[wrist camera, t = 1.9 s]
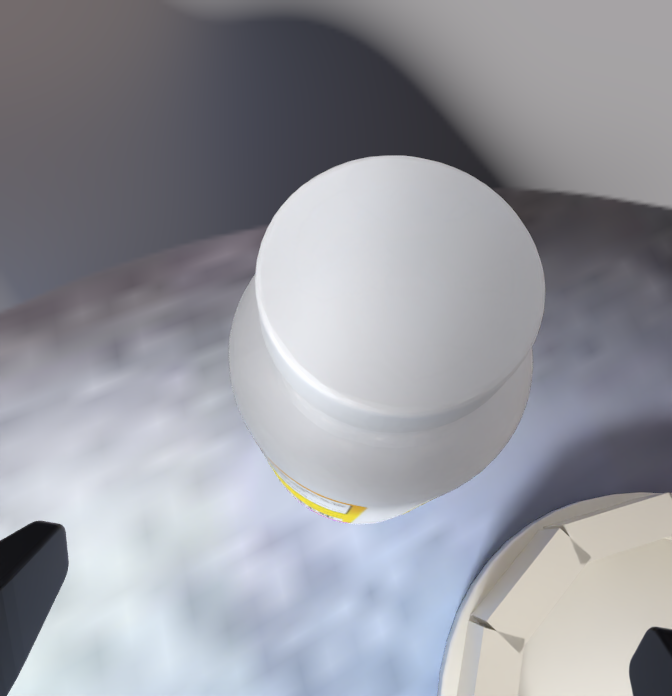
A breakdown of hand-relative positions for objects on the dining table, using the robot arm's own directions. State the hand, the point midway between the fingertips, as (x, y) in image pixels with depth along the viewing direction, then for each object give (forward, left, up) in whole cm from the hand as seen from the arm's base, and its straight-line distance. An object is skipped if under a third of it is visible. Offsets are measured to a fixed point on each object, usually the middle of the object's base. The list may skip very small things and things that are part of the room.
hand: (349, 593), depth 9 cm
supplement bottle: (+5, 0, -12) cm, 13 cm away
